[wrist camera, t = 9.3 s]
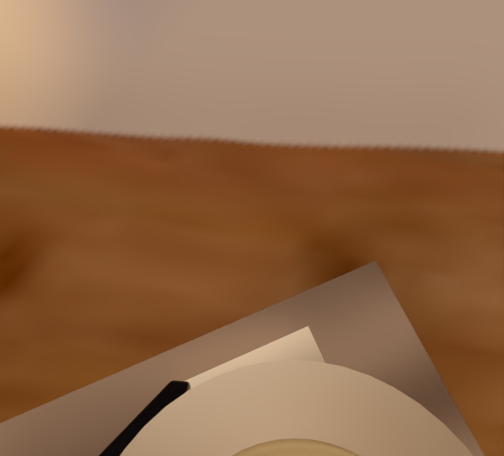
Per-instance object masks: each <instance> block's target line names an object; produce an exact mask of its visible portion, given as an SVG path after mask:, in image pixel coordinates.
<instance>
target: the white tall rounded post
mask: <svg viewBox="0 0 504 456" xmlns="http://www.w3.org/2000/svg"><path fill="white" fill-rule="evenodd" d="M185 381H187V382H189V383H190V387H191V389H190V390H188V391H187V392H186V393H184V394H183V395H181V396H180V397H178V398H177V399H176V400H174V401H173V402H171V403H170V404H169V405H167V406H166V407H165V408H164V409H163V410H161V411H160V412H159V413H158V414H157V415H156V416H155V417H154V418H153V419H152V420H151V421H149V422H148V423H147V424H146V425H145V426H144V427H143V428H142V429H141V431H140V432H139V433H138V434H137V435H136V436H135V438H134V439H133V440H132V441H131V442H130V443H129V445H128V446H127V447H126V448H125V449H124V451H123V452H122V454H121V455H120V456H473V455H472V454H471V452H470V451H469V450H468V448H467V447H466V446H465V445H464V444H463V443H462V442H461V441H460V440H459V439H458V438H457V437H456V436H455V435H454V434H453V433H452V432H451V431H450V430H449V429H448V427H447V426H446V425H445V424H444V423H442V422H441V421H440V420H439V419H438V418H436V417H435V416H434V415H433V414H432V413H430V412H429V411H428V410H427V409H425V408H424V407H423V406H422V405H421V404H419V403H418V402H416V401H415V400H413V399H412V398H410V397H408V396H407V395H405V394H404V393H402V392H401V391H399V390H398V389H396V388H394V387H392V386H390V385H388V384H386V383H384V382H382V381H380V380H378V379H376V378H374V377H372V376H370V375H367V374H364V373H361V372H358V371H355V370H352V369H349V368H346V367H343V366H338V365H333V364H328V363H325V361H324V359H323V357H322V354H321V352H320V350H319V348H318V346H317V344H316V342H315V340H314V337H313V335H312V333H311V331H310V329H309V327H308V326H307V327H305V328H303V329H300V330H298V331H296V332H294V333H291V334H289V335H287V336H285V337H282V338H280V339H278V340H276V341H273V342H271V343H269V344H266V345H264V346H262V347H260V348H257V349H255V350H253V351H251V352H248V353H246V354H244V355H242V356H239V357H237V358H235V359H233V360H230V361H228V362H226V363H224V364H221V365H219V366H217V367H215V368H212V369H210V370H208V371H206V372H203V373H201V374H199V375H197V376H194V377H192V378H190V379H188V380H185ZM159 393H160V392H159Z"/></svg>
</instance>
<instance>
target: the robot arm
mask: <svg viewBox="0 0 504 456" xmlns="http://www.w3.org/2000/svg"><path fill="white" fill-rule="evenodd" d="M190 389H191V387H190V383H189V382H187V381H176V380H173V381H171V382H169V383H168V384H167V385H166V386H165V387H164V388H163V389H162V391H161V392H160V393H159V394H158V395H157V396H156V397H155V398H154V399H153V400H152V401H151V402H150V403H149V404H148V405H147V406H146V407H145V408H144V409H143V410H142V411H141V412H140V413H139V414H138V415H137V416H136V417H135V418H134V419H133V420H132V422H131V423H130V424H129V425H128V426H127V427H126V428H125V429H124V430H123V431H122V432H121V433H120V434H119V435H118V436H117V437H116V438H115V439H114V440H113V441H112V442H111V443H110V444H109V445H108V446H107V447H106V448H105V449H104V450H103V451H102V453H101V454H100V455H99V456H120V455H121V454H122V452H123V451H124V449H125V448H126V447H127V446H128V445H129V443H130V442H131V441H132V440H133V439H134V438H135V436H136V435H137V434H138V433H139V432H140V431H141V429H142V428H143V427H144V426H145V425H146V424H147V423H148V422H149V421H151V420H152V419H153V418H154V417H155V416H156V415H157V414H158V413H159V412H160V411H161V410H163V409H164V408H165V407H166V406H167V405H169V404H170V403H171V402H173V401H174V400H176V399H177V398H178V397H180V396H181V395H183V394H184V393H186V392H187V391H188V390H190Z"/></svg>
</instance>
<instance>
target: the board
mask: <svg viewBox="0 0 504 456" xmlns="http://www.w3.org/2000/svg"><path fill="white" fill-rule="evenodd" d="M307 326H308V327H309V329H310V331H311V333H312V335H313V337H314V340H315V342H316V344H317V346H318V348H319V350H320V352H321V354H322V357H323V359H324V361H325V363H328V364H333V365H338V366H343V367H346V368H349V369H352V370H355V371H358V372H361V373H364V374H367V375H370V376H372V377H374V378H376V379H378V380H380V381H382V382H384V383H386V384H388V385H390V386H392V387H394V388H396V389H398V390H399V391H401V392H402V393H404V394H405V395H407V396H408V397H410V398H412V399H413V400H415V401H416V402H418V403H419V404H421V405H422V406H423V407H424V408H425V409H427V410H428V411H429V412H430V413H432V414H433V415H434V416H435V417H436V418H438V419H439V420H440V421H441V422H442V423H444V424H445V425H446V426H447V427H448V429H449V430H450V431H451V432H452V433H453V434H454V435H455V436H456V437H457V438H458V439H459V440H460V441H461V442H462V443H463V444H464V445H465V446H466V447H467V448H468V450H469V451H470V452H471V454H472V455H473V456H484V454H483V452H482V450H481V449H480V447H479V445H478V443H477V442H476V440H475V438H474V436H473V434H472V433H471V431H470V429H469V427H468V425H467V424H466V422H465V420H464V418H463V416H462V415H461V413H460V411H459V409H458V407H457V406H456V404H455V402H454V400H453V399H452V397H451V395H450V393H449V391H448V390H447V388H446V386H445V384H444V382H443V381H442V379H441V377H440V375H439V373H438V372H437V370H436V368H435V366H434V365H433V363H432V361H431V359H430V357H429V356H428V354H427V352H426V350H425V348H424V347H423V345H422V343H421V341H420V339H419V338H418V336H417V334H416V332H415V331H414V329H413V327H412V325H411V323H410V322H409V320H408V318H407V316H406V314H405V313H404V311H403V309H402V307H401V305H400V304H399V302H398V300H397V298H396V297H395V295H394V293H393V291H392V289H391V288H390V286H389V284H388V282H387V280H386V279H385V277H384V275H383V273H382V271H381V270H380V268H379V266H378V264H377V262H376V261H374V262H372V263H370V264H367V265H365V266H363V267H360V268H358V269H356V270H353V271H351V272H349V273H346V274H344V275H342V276H339V277H337V278H335V279H333V280H330V281H328V282H326V283H323V284H321V285H319V286H316V287H314V288H312V289H309V290H307V291H305V292H303V293H300V294H298V295H296V296H293V297H291V298H289V299H286V300H284V301H282V302H279V303H277V304H275V305H272V306H270V307H268V308H266V309H263V310H261V311H259V312H256V313H254V314H252V315H249V316H247V317H245V318H242V319H240V320H238V321H236V322H233V323H231V324H229V325H226V326H224V327H222V328H219V329H217V330H215V331H212V332H210V333H208V334H205V335H203V336H201V337H199V338H196V339H194V340H192V341H189V342H187V343H185V344H182V345H180V346H178V347H175V348H173V349H171V350H169V351H166V352H164V353H162V354H159V355H157V356H155V357H152V358H150V359H148V360H145V361H143V362H141V363H138V364H136V365H134V366H132V367H129V368H127V369H125V370H122V371H120V372H118V373H115V374H113V375H111V376H108V377H106V378H104V379H102V380H99V381H97V382H95V383H92V384H90V385H88V386H85V387H83V388H81V389H78V390H76V391H74V392H71V393H69V394H67V395H65V396H62V397H60V398H58V399H55V400H53V401H51V402H48V403H46V404H44V405H41V406H39V407H37V408H34V409H32V410H30V411H28V412H25V413H23V414H21V415H18V416H16V417H14V418H11V419H9V420H7V421H4V422H2V423H0V456H99V455H100V454H101V453H102V451H103V450H104V449H105V448H106V447H107V446H108V445H109V444H110V443H111V442H112V441H113V440H114V439H115V438H116V437H117V436H118V435H119V434H120V433H121V432H122V431H123V430H124V429H125V428H126V427H127V426H128V425H129V424H130V423H131V422H132V420H133V419H134V418H135V417H136V416H137V415H138V414H139V413H140V412H141V411H142V410H143V409H144V408H145V407H146V406H147V405H148V404H149V403H150V402H151V401H152V400H153V399H154V398H155V397H156V396H157V395H158V394H159V392H161V391H162V389H163V388H164V387H165V386H166V385H167V384H168V383H169V382H171V381H173V380H176V381H185V380H188V379H190V378H192V377H194V376H197V375H199V374H201V373H203V372H206V371H208V370H210V369H212V368H215V367H217V366H219V365H221V364H224V363H226V362H228V361H230V360H233V359H235V358H237V357H239V356H242V355H244V354H246V353H248V352H251V351H253V350H255V349H257V348H260V347H262V346H264V345H266V344H269V343H271V342H273V341H276V340H278V339H280V338H282V337H285V336H287V335H289V334H291V333H294V332H296V331H298V330H300V329H303V328H305V327H307Z"/></svg>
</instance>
